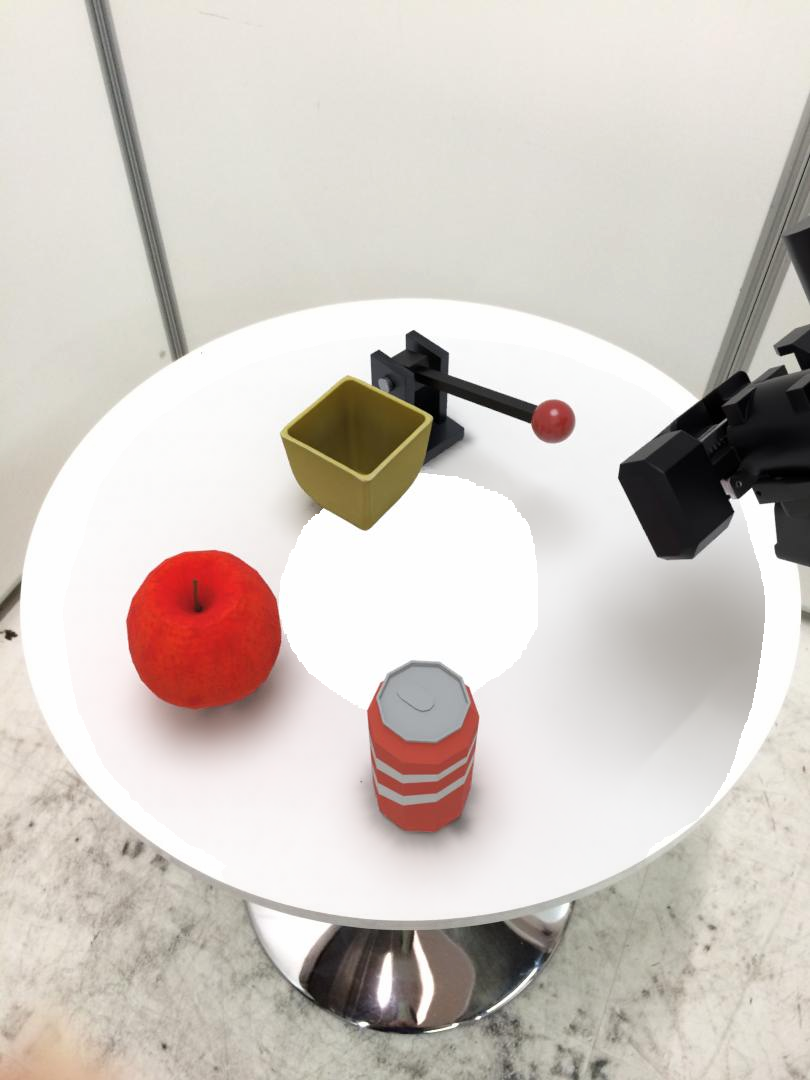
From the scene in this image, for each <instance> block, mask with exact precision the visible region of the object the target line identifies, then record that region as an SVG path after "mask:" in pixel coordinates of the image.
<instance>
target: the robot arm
mask: <svg viewBox="0 0 810 1080" xmlns="http://www.w3.org/2000/svg"><path fill="white" fill-rule="evenodd" d="M780 238H781V240H782V242H783V245H784V247H785V249H786V252H787V254H788V257H789V258H790V261H791V264H792V266H793V269H794V271H795V274H796V276H797V278H798V281H799V283H800V285H801V287H802V290H803V292H804V294H805V297H806V299H807V302H808V304H809V305H810V214H809V215H808V216H805V217H804V218H802V219H801V220H799V221H798V222H796V223H794V224H793V225H790V227H788V228H787V229H785V230H784V231H783V232H782V233H781V234H780ZM772 347H773V350H774V352H775V354H776V355H777V356H778V357H785V356H788V355H794V357H795V359H796V361H797V364H798V366H799V368H800V370H798V371H795V372H791V373H789V372H788V369H787V367H786V365H785V364H781V365H777V366H773V367H769V368H768V369H767V370H766V371H764V372H763V373H762V374H760V375H759V376H757V378H755V379H754V380H751V379H750V376H749V375H748V373H747V372H746V371H745V370H737V371H736V372H734V373H733V374H731V376H729V377H728V378H727V379H725V380H724V381H722V382H721V383H720V384H719V385H718V386H716V387H715V388H713V389H712V390H711V391H710V392H708V393H707V394H706V395H705V396H703V398H701V399H700V400H698V401H697V402H695V403H694V404H693V405H692V406H690V407H689V408H688V409H686V410H685V411H684V412H682V413H681V414H680V415H678V416H677V417H676V418H675V419H673V420H672V421H671V422H670V424H668V425H667V426H665V428H663V429H662V430H661V431H660V432H659V433H658V434H657V435H655V436H654V437H653V438H651V440H649V441H648V442H646V443H645V444H644V445H643V446H641V447H640V448H639V449H638V450H636V451H635V452H633V453H632V454H631V455H630V456H629V457H627V458H626V459H625V460H623V461H622V462H620V464H619V468H618V474H617V479H618V482H619V484H620V485H621V488H622V489H623V492H624V493H625V496H626V497H627V500H628V501H629V504H630V506H631V508H632V510H633V512H634V514H635V516H636V518H637V520H638V523H639V524H640V526H641V528H642V530H643V532H644V534H645V536H646V538H647V541H648V542H649V544H650V546H651V548H652V550H653V552H654V554H655V556H656V557H657V558H658V559H662V560H665V561H684V560H694V558H696V557H697V556H698V555H699V554H700V553H701V552H702V551H704V550H705V548H707V547H708V546H709V545H710V544H711V543H712V542H714V541H715V540H716V539H717V538H718V537H719V536H720V535H721V534H722V533H723V532H725V531H726V530H727V529H728V528H729V526H730V524H731V521H732V519H733V517H734V515H735V510H734V507H733V505H732V503H731V501H730V500H731V499H732V500H739V499H741V498H742V497H743V496H744V495H746V494H747V492H749V491H750V490H751V489H752V491H753V494H754V496H755V498H756V500H757V502H758V505H768V504H774V506H773V515H774V525H775V536H776V537H775V539H776V543H775V544H774V546H773V547H774V548H773V549H774V555H775V557H776V558H777V559H778V560H783V561H786V562H789V563H793V564H796V565H800V566H804V567H808V568H810V323H807V324H805V325H802V326H798V327H795V328H793V330H791V331H790V332H789V333H787V334H786V335H784V336H783V337H782V338H781V339H779V340H778V341H776V343H774V344H773V345H772Z"/></svg>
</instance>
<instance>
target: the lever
mask: <svg viewBox="0 0 810 1080" xmlns="http://www.w3.org/2000/svg"><path fill="white" fill-rule="evenodd" d="M390 357H391V356H390ZM391 358H392V359H394V360H395V361H396V362H398V363H399V364H401V365H402V366H404V367H405V368H407V369H408V370H410V371H411V372H412V373H414V392H415V391H417V390H418V389H420V388H422V387H423V386H425V385H426V386H429V387H432V388H434V389H437V390H440V391H443V392H445V393H448V394H447V395H451V396H454V397H456V398H459V399H462V400H465V401H466V402H467V401H468V402H470V403H473V404H475V405H478V406H480V407H484V408H487V409H489V410H491V411H494V412H497V413H500V414H503V415H506V416H508V417H511V418H513V419H516V420H519V421H522V422H525V423H528V424H530V425H531V430H532V432H533V434H534V435H535V436H536V437H537V438H538V439H539V440H540V441H542V442H544V443H546V444H560V443H563V442H564V441H566V440H567V439H568V438H570V437H571V436H572V434H573V433H574V430H575V427H576V421H577V419H576V414H575V411H574V410H573V408H572V407H571V406H570V405H569V403H567V402H566V401H564V400H560V399H557V398H556V399H554V398H552V399H546V400H545V401H542V402H540V403H539V404H538V405H537V404H534V403H532V402H528V401H526V400H523V399H520V398H517V397H514V396H511V395H508V394H506V393H502V392H499V391H497V390H493V389H491V388H488V387H485V386H483V385H480V384H476V383H473V382H471V381H467V380H465V379H462V378H459V377H457V376H454V375H451V374H449V373H448V374H445V373H442V372H439V371H436V370H433V369H430V367H429V362H428V357H427V356H426V355H423V354H420V353H417V352H414V351H411V350H408V349H406V348H405V349H403V350H401V351H400V352H398V353H396V354H394V355H393V356H392V357H391Z"/></svg>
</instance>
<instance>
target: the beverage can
mask: <svg viewBox="0 0 810 1080" xmlns="http://www.w3.org/2000/svg"><path fill="white" fill-rule="evenodd" d="M366 714H367V727H368V737H369V738H368V739H369V751H370V764H371V775H372V776H371V777H372V784H373V789H374V793H375V796H376V801H377V805H378V809H379V812H380V813H381V814H383V815H384V816H385V817H386V818H388V819H389V820H390V821H391V822H393V823H394V824H395V825H396V826H398V827H399V828H400V829H401V830H402V831H408V832H425V833H436V832H437V831H439V830H440V829H442V828H444V827H446V826H447V825H448V824H450V823H452V822H454V821H455V820H457V819H458V818H459V817H461V816H462V813H463V811H464V808H465V805H466V801H467V799H468V797H469V794H470V791H471V788H472V779H473V772H474V765H475V764H474V763H475V756H476V748H477V739H478V730H479V725H480V723H479V722H480V715H479V711H478V709H477V706H476V702H475V699H474V697H473V693H472V691H471V688H470V686H468V685H467V684H466V683H465V681H464V678H463V677H462V675H460V674H458V673H457V672H455V671H454V670H453V669H451V668H450V667H448V666H447V665H445V664H444V663H443V662H441V661H437V660H436V661H432V660H414V659H413V660H409V661H407V662H405V663H404V664H402V665H400V666H398V667H396V668H395V669H393V670H391V671H389V672H387V673H386V675H385V678H384V679H383V680H382V681H381V682H379V685H378V686H377V688H376V691H375V693H374V695H373V697H372V699H371V702H370V703H369V706H368V708H367V709H366Z"/></svg>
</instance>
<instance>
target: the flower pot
mask: <svg viewBox="0 0 810 1080" xmlns="http://www.w3.org/2000/svg"><path fill="white" fill-rule="evenodd" d="M432 422H433V417H432V416H431V415H430V414H428V413H427V412H425V411H423V410H421V409H419V408H417V407H415V406H413V405H411V404H409V403H407V402H405V401H403V400H401V399H399V398H397V397H395V396H392V395H390V394H388V393H386V392H384V391H382V390H380V389H378V388H376V387H374V386H372V384H369V383H368V382H366V381H364V380H362V379H360V378H357V377H355V376H352V375H347V374H346V375H345V376H343V377H342V378H341V379H339V380H338V381H337V382H336V383H335V384H333V385H332V386H331V387H330V388H329V389H327V391H326V392H324V393H323V394H321V396H320V397H318V398H317V399H316V400H315V401H314V402H312V403H311V404H310V405H309V406H308V407H306V408H305V409H304V410H303V411H301V412H300V413H299V414H298V415H296V416H295V417H294V418H293V419H292V420H291V421H289V423H287V424H286V425H285V426H284V427H283V428H282V429H281V430H280V432H279V436H280V439H281V442H282V444H283V445H282V446H283V447H284V451H285V454H286V457H287V460H288V463H289V466H290V470H291V473H292V475H293V477H294V479H295V481H296V483H297V484H298V486H299V487H300V488H301V490H302V491H303V492H304V493H305V494H306V495H307V496H308V497H309V498H310V499H311V500H312V501H314V502H315V503H316V504H317V505H318V506H320V507H321V508H323V509H324V510H326V511H328V512H330V513H331V514H333V515H335V516H337V517H338V518H340V519H342V520H344V521H345V522H347V523H349V524H351V525H352V526H354V527H356V528H357V529H359V530H361V531H363V532H365V531H366V532H367V531H369V530H370V529H372V528H373V527H374V525H376V524H377V523H378V522H379V521H380V520H381V518H383V517H384V516H385V515H386V514H387V512H389V510H390V509H392V508H393V506H395V504H397V503H398V502H399V501H400V500H401V498H402V497H403V496H404V495H405V494H406V492H408V490H410V488H411V487H412V485H413V484H414V482H415V481H416V479H417V478H418V476H419V474H420V472H421V470H422V468H423V465H424V464H423V462H424V459H425V455H426V450H427V446H428V441H429V436H430V431H431V426H432Z"/></svg>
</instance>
